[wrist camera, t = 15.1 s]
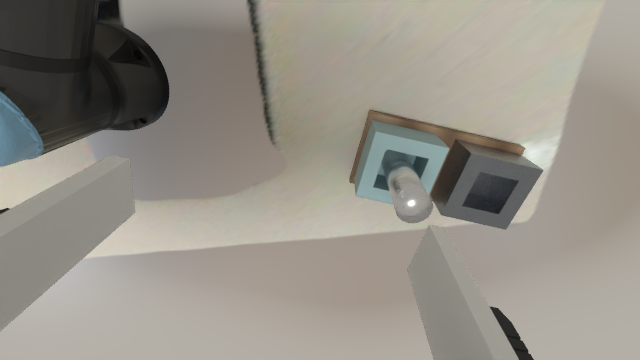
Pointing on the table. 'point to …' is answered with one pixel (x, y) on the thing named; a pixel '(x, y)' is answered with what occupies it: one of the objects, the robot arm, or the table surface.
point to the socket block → (483, 184)
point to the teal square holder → (416, 144)
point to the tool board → (443, 133)
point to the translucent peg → (406, 188)
